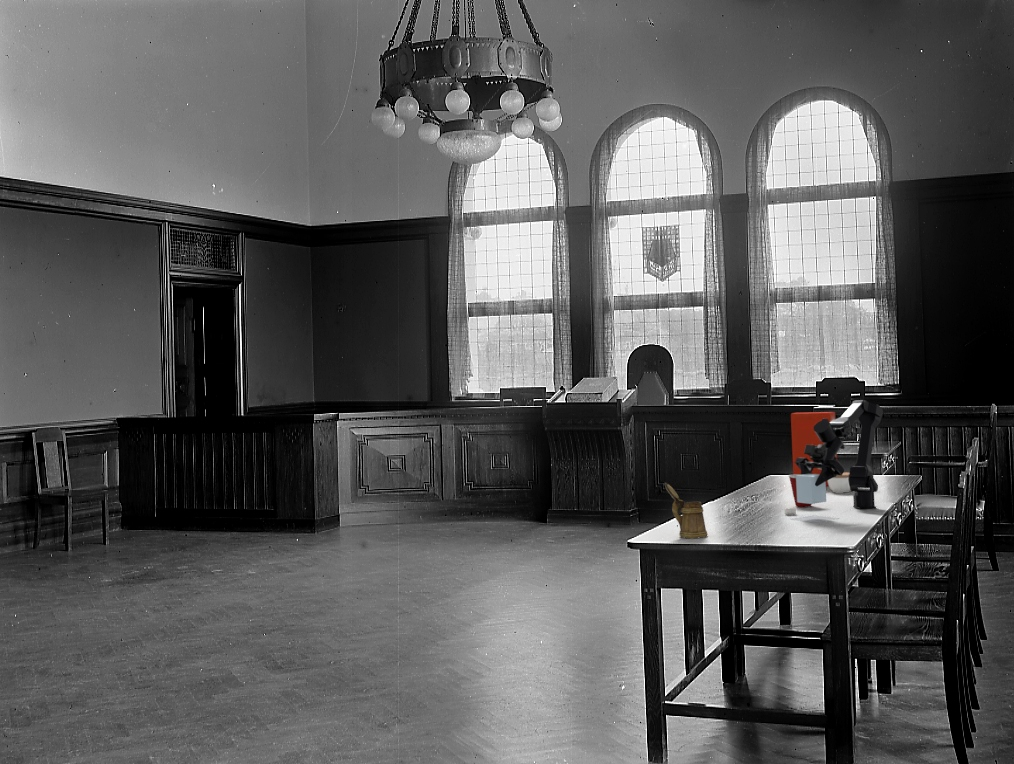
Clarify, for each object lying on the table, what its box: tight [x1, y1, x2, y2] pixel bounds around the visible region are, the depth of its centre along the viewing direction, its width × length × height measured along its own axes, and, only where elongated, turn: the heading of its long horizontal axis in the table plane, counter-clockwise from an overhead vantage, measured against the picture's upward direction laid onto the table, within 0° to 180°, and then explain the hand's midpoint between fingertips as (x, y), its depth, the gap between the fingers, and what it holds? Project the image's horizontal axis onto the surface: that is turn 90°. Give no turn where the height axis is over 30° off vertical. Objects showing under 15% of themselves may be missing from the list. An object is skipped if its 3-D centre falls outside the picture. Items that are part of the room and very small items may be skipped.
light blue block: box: [796, 473, 827, 505], centre depth 383 cm, size 7×7×10 cm
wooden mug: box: [664, 482, 708, 539], centre depth 361 cm, size 9×14×18 cm, turn 69°
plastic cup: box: [788, 474, 813, 508], centre depth 417 cm, size 11×11×12 cm
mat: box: [791, 514, 840, 523], centre depth 383 cm, size 12×12×1 cm
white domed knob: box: [784, 506, 797, 516], centre depth 395 cm, size 4×4×3 cm
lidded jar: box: [828, 471, 851, 494], centre depth 453 cm, size 11×11×9 cm
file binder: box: [790, 411, 838, 487], centre depth 480 cm, size 8×17×32 cm, turn 57°
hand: (808, 484), depth 383 cm, fingers closed on light blue block, 7 cm apart
